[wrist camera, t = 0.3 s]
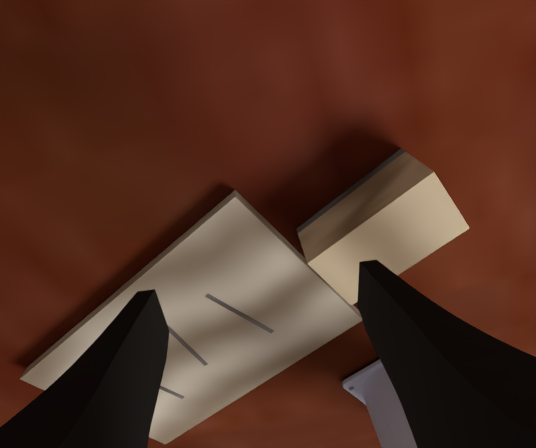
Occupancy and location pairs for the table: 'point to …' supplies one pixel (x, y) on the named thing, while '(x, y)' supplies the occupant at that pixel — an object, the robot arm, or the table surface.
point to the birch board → (218, 315)
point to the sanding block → (380, 223)
